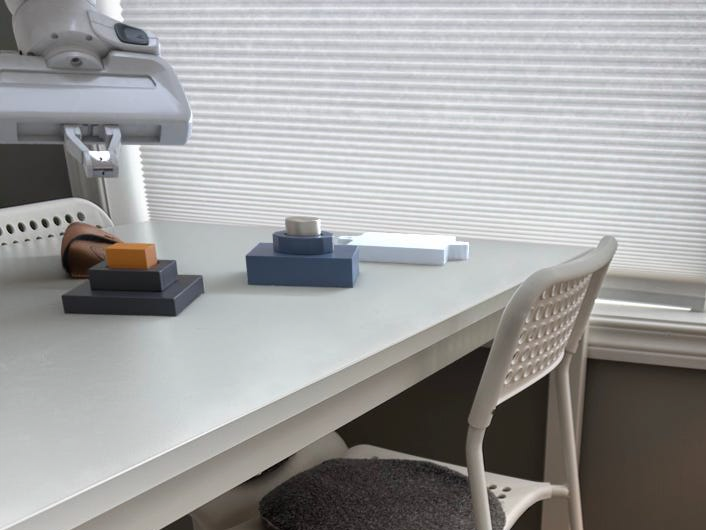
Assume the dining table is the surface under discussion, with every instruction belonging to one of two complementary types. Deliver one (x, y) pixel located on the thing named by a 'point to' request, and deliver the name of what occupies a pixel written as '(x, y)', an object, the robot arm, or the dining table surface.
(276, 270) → the key block
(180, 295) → the key block
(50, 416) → the dining table surface
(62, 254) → the sunglasses case
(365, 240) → the mounting plate
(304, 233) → the silver short cylinder
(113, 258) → the orange square flat block
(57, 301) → the dining table surface
